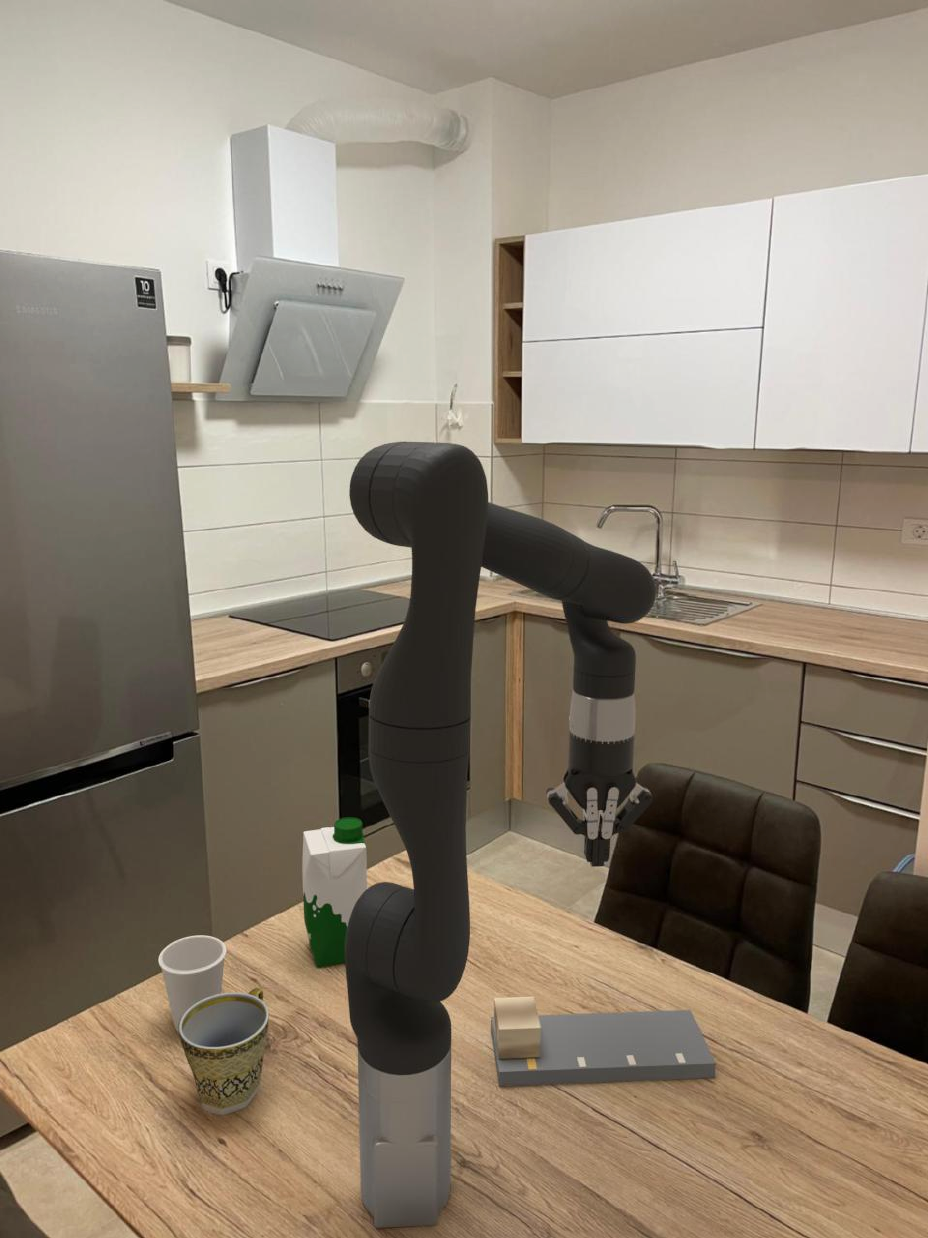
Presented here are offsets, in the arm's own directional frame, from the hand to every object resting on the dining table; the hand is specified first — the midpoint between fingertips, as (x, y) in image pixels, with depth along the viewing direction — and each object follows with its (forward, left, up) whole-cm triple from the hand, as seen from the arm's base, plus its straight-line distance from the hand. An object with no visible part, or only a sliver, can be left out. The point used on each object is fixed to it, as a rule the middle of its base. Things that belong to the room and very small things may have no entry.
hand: (596, 863), depth 112 cm
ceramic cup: (-5, +43, -25) cm, 50 cm away
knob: (-2, +10, -22) cm, 25 cm away
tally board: (-2, -1, -25) cm, 25 cm away
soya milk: (+22, +33, -25) cm, 47 cm away
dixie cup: (+7, +50, -25) cm, 56 cm away
